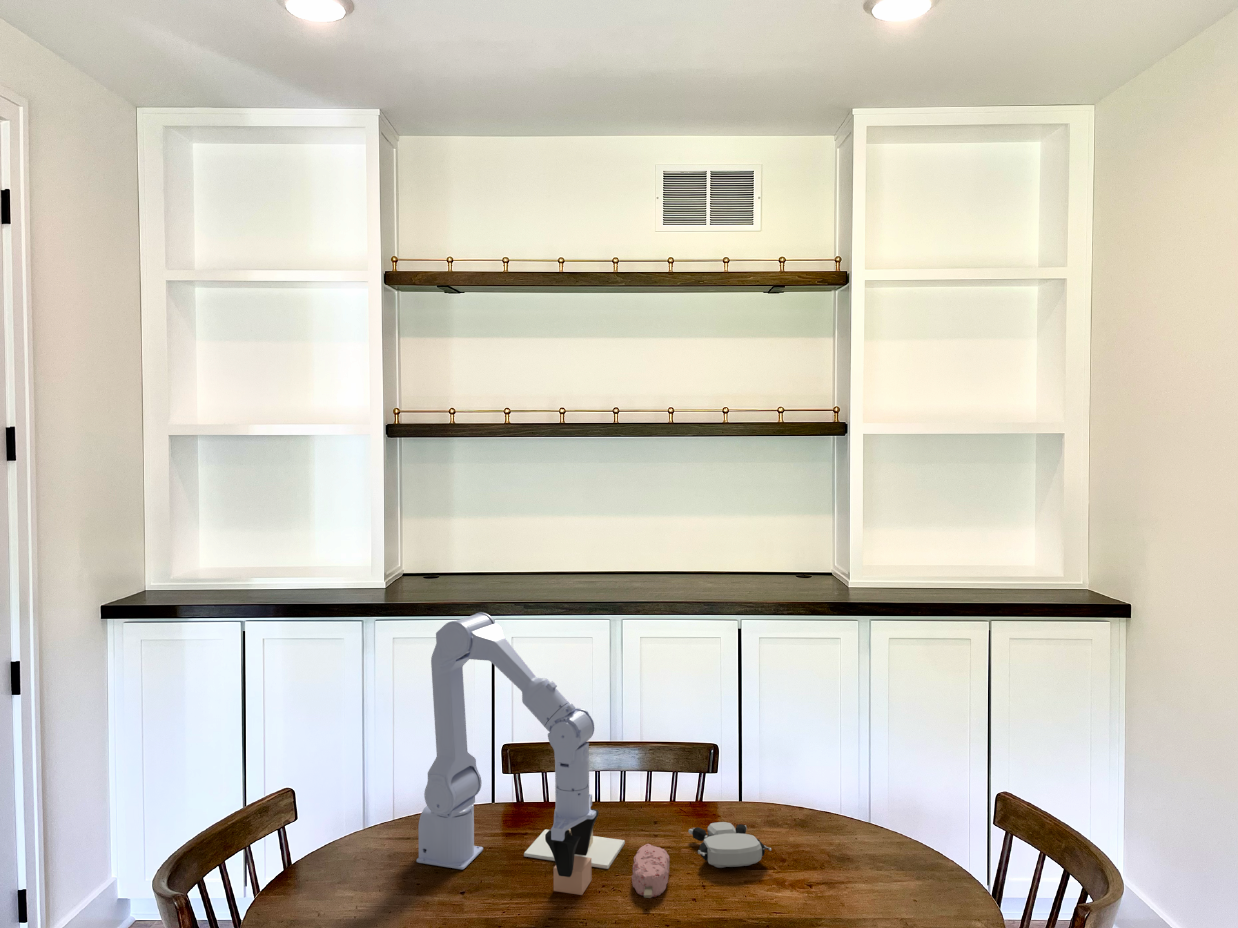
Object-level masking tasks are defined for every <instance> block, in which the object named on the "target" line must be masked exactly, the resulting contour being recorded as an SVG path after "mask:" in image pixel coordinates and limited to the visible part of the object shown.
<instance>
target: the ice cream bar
mask: <svg viewBox="0 0 1238 928" xmlns="http://www.w3.org/2000/svg"><path fill="white" fill-rule="evenodd" d="M670 864H671V863H670V855H669V854H668V852H667V850H666V849H665V848H661V847H660V846H655V845H652V844H650V843H645V845H642V846H641V847H639V849H638V850H637V851H636V853H635V855H634V857H633V864H632V875H631V884H632V887H633V888H634V889H635V891H636V893H637V894H638V895H640V896H642V897H643V898H648V899H652V898H656V897H657V896H661V894H663V893H664V892H665V890H666V889H667V884H668V882H669V874H670Z"/></svg>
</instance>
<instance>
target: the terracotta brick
mask: <svg viewBox="0 0 1238 928" xmlns="http://www.w3.org/2000/svg"><path fill="white" fill-rule="evenodd" d="M591 882H592V866H591V858H588V857H581V856H574V865H573V871H572V875H571V876H570V877H565V876H559V874H558V871H557V867H556V864H555V865H554V866H553V892H559V893H564V894H565V893H566V894H574V895H579V896H583V894H584V892H585V891H586V889H587V888H588V886H589V885H590V884H591Z"/></svg>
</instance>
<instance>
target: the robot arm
mask: <svg viewBox="0 0 1238 928" xmlns="http://www.w3.org/2000/svg"><path fill="white" fill-rule="evenodd" d="M435 639H436V640H435V641H436V643H435V645H434V646H435V647H434V649H433V651H432V655H431V657H430V658H431V660H430V665H431V666H430V667H431V680H432V681H431V683H432V697H433V698H432V699H433V715H434V717H433V718H434V729H435V731H434V733H435V747H436V748H435V750H436V757H435V759H434V760H433V763H432V764H431V766H430V768H429V769H428V771H427V784H426V786H425V788H424V793H423V795H424V801H425V807H424V808H423V810H422V811H421V814H420V816H419V821H418V858H416V863H419V864H425V865H431V866H438V867H444V868H450V869H451V868H452V869H456V870H464V869H465V868H467V867H468V866H469V865H470V863H472V862H473V860H474V859H476V858H477V857H478V856H480V855H479V854H481V853H482V852H483V851H484V847H483V846H479V845H478V846H477V845H475V819H474V816H475V813H474V812H475V811H474V809H475V803H476V796H477V795H478V794H479V793H480V791H481V788H482V777H481V774H480V773H479V769H478V767H477V759H476V757H475V756H474V755H472V754H471V753H470V752H469V751H468V739H467V738H468V737H467V736H468V735H467V720H466V717H467V716H466V705H465V687H464V685H465V684H464V672H463V671H464V670H463V668H464V666H465V664H466V663H467V662H469V660H473V661H476V660H477V661H488V662H491V664H492V665H493V666H494V667H496V668H497V669H498V670H499V671H500V672H501V673H502V674H503V675H504V676H505V677H506V679H508V680H509V681H510V682H512V684H513V685H515V687H516V688H518V690H520V692H521V694H522V695H521V701H522V702H521V703H522V704H523V705H524V706H525V707H526V708H527V710H529V711H530V713H531V714H532V715H533V717H535V718H536V719H537V720H538V721H539V723H540V724H541V725H542V726H543V727H544V728H545V729H546V730H547V739H548V742H549V744H550V746H551V747H552V749H553V751H554V752H553V753H554V766H555V767H554V774H555V775H554V776H555V779H554V782H555V786H554V787H555V788H554V789H555V791H554V793H555V795H554V796H555V798H554V799H555V801H554V802H555V809H554V814H553V825H552V827H551V828H550V829H548V830H549V831H548V832H547V833H546V835H545V840H546V842H547V844H548V845H549V847H550V849H551V851H552V853H553V856H554V859H555V861H554V863H555V865H556V867H557V871H558V874H559V876H565V877H570V876H571V875H572V871H573V865H574V855H575V854H577V855H584V856H586V855H587V852H588V848H589V843H590V837H591V833H592V829H593V830H594V826H595V823H596V820H597V818H598V816H599V810H598V809H595V808H591V807H592V806H593V794H591V793H590V751H589V750H590V749H589V748H590V746H589V745H590V742H588V741H590V739H592V736H593V735H594V733H595V723H594V720H593V718H592V716H591V715H590V713H589V712H588V711H587V710H586V709H584V708H581V707H576V706H575V705H574V704H573V703H570V702H569V700H567V699H566V697H565V696H564V695H563V694H562V693H561V692H560V691H559V690H558V688H557V687H558V685H557V684H556V683H555V682H554V681H553V680H552V681H550V680H549V679H548V678H545V677H537V676H536V675H535V673H533V671H532V670H531V669H530V667H529V666H528V665H527V664H526V662H525V661H524V660H523V658H522V657H521V656H520V655H519V654H518V653H517V651H516V650H515V648H514V647H513V646H512V645H511V644H510V642H509V641H508V640H507V639H506V637H505V634H504V632H503V627H501V625H499V624H498V623H497V622H495V620H494V618H493V617H492V616H491V615H489V614H488V613H486V612H481V611H480V612H477V613H474V614H472V615H470V616H467V617H464V618H460V619H457V620H452V621H449V622H447V623H445V624H444V625H443V626H442V627H440V629H439V630H437V632H436V633H435ZM568 829H571V833H569V830H568ZM571 834H572V835H571Z"/></svg>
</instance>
